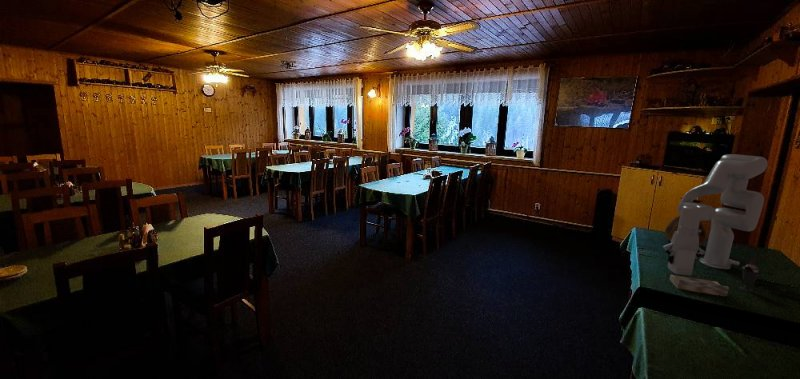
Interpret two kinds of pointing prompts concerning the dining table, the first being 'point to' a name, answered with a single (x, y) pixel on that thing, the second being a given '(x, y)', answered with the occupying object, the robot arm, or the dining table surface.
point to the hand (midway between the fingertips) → (680, 263)
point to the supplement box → (683, 262)
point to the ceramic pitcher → (674, 226)
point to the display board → (699, 285)
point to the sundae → (749, 275)
